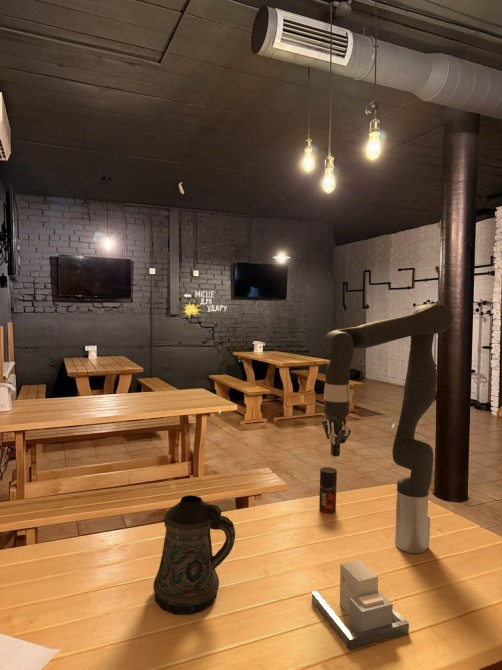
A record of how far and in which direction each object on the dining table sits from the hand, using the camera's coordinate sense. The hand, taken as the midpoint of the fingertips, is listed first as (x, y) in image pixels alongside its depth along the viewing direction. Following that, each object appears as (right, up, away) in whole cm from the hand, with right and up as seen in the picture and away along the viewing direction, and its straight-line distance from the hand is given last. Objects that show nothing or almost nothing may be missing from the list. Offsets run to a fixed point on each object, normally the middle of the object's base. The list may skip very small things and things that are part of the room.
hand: (335, 455), depth 137 cm
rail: (0, -31, -28) cm, 42 cm away
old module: (+2, -31, -33) cm, 45 cm away
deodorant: (+2, -28, +28) cm, 40 cm away
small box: (+1, -31, -27) cm, 41 cm away
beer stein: (-40, -30, -20) cm, 54 cm away
